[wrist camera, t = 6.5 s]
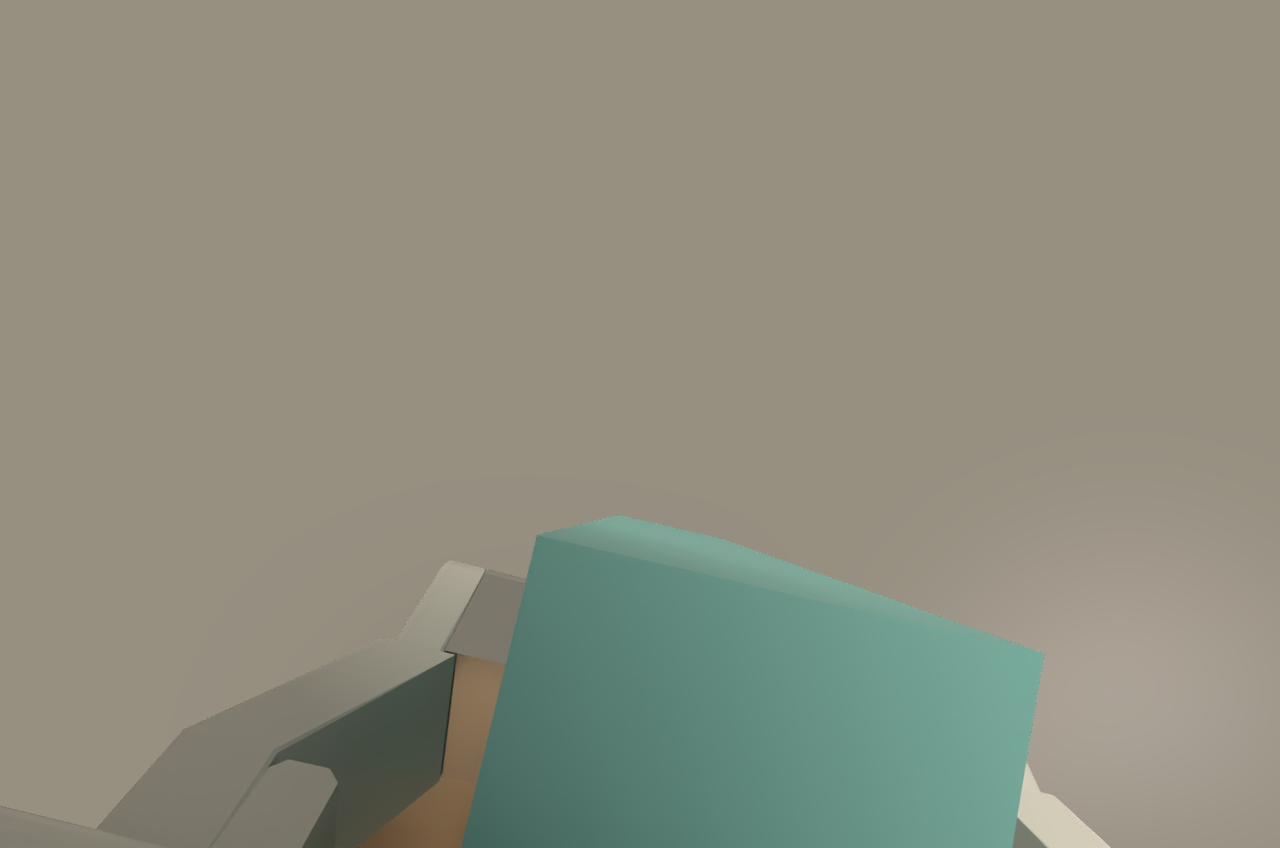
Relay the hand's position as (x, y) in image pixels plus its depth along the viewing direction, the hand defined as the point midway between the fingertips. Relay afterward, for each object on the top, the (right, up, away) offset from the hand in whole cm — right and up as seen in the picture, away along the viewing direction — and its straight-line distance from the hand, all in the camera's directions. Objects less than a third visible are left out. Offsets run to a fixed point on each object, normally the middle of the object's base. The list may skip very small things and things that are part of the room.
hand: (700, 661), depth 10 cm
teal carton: (0, -3, +6) cm, 7 cm away
